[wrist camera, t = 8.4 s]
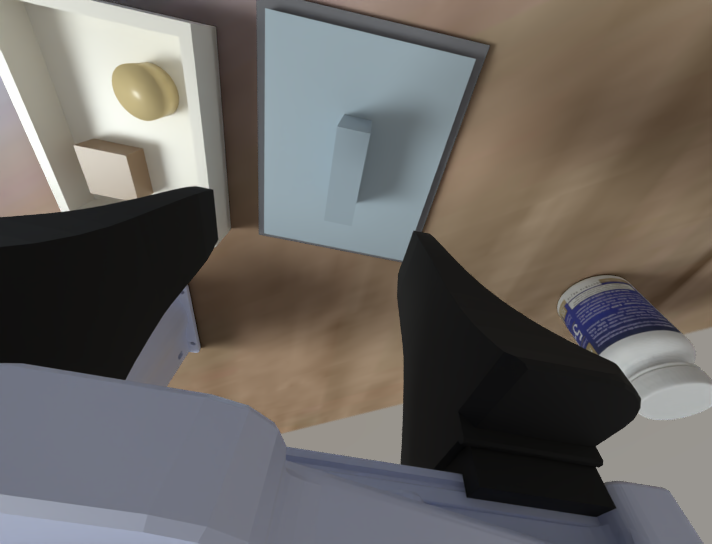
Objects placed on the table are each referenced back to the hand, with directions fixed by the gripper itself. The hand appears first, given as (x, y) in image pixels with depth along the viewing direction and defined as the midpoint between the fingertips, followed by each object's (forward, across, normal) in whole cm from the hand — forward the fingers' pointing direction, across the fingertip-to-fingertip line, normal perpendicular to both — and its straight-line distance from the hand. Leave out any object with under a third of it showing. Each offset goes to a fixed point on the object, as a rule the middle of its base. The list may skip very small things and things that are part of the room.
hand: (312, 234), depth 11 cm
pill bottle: (+10, -22, +7) cm, 25 cm away
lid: (+10, -1, 0) cm, 10 cm away
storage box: (+10, +12, +1) cm, 16 cm away
